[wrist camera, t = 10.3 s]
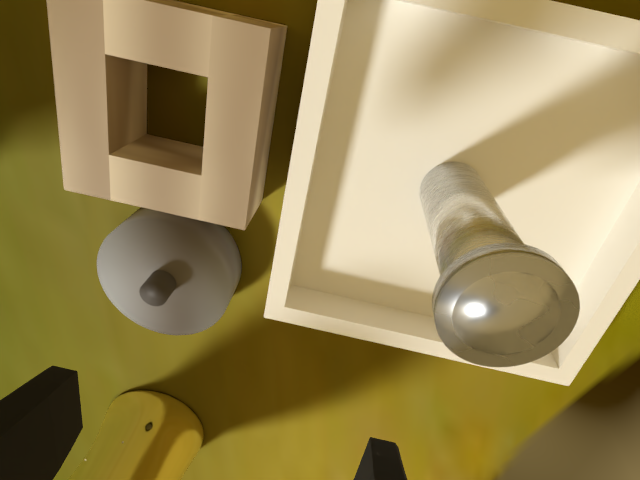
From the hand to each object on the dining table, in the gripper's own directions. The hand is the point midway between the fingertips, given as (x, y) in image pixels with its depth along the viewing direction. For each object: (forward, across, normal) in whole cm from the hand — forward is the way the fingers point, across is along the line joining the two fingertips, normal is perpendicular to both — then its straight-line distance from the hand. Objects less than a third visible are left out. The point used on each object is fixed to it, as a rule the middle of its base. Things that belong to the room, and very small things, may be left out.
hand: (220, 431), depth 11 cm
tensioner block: (+10, +5, -2) cm, 12 cm away
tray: (+10, -6, -4) cm, 13 cm away
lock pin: (+10, -6, -4) cm, 12 cm away
